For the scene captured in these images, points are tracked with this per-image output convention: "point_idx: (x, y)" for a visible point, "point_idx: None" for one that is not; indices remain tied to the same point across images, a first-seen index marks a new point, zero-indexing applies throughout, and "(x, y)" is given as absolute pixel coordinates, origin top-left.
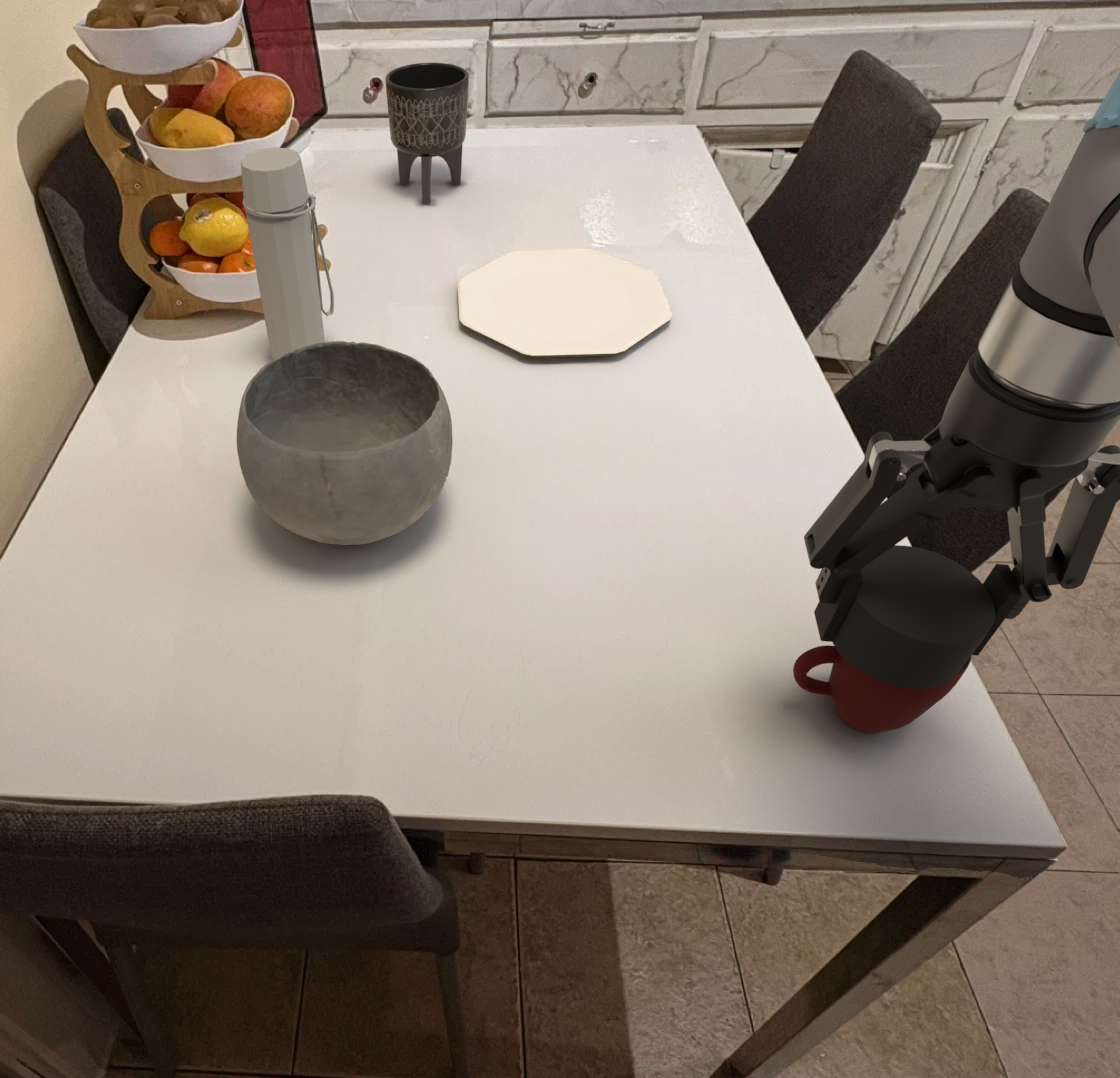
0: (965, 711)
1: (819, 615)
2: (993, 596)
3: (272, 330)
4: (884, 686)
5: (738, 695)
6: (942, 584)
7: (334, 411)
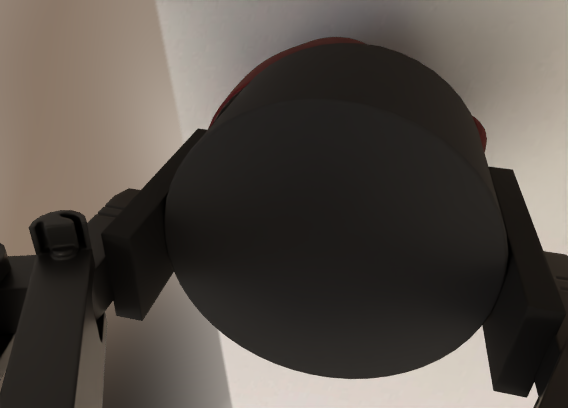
0: (196, 92)
1: None
2: (161, 239)
3: None
4: None
5: (531, 117)
6: (263, 278)
7: None
